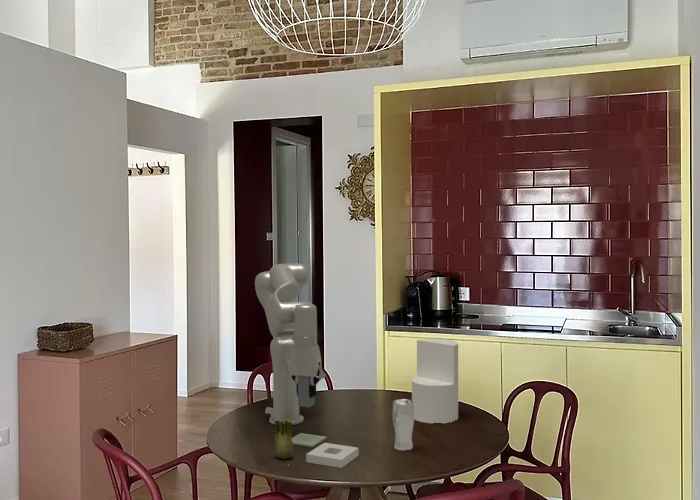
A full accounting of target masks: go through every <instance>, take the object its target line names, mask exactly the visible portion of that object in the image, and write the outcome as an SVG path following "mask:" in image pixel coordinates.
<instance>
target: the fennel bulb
mask: <svg viewBox="0 0 700 500" xmlns="http://www.w3.org/2000/svg"><path fill="white" fill-rule="evenodd" d="M292 426H293V425H292V422H291V421H288V420H287V419H285V422H284V420H279V419H276V420H275V424H274V428H275V430H274V447H275V452H276V456H277V457H278V458H279V460H288V459H291V458H292V457H293V455H294V444H293V441H292V438H293V437H292Z"/></svg>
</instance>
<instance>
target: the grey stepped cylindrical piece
mask: <svg viewBox="0 0 700 500" xmlns="http://www.w3.org/2000/svg"><path fill="white" fill-rule="evenodd" d="M411 400H412V401H413V403H414V421H418V422H420V423H425V424H433V423H442V424H450V423H453V421H454V422H456V421H457V420H458V419H459V342H458V341H455V340H452V339H451V340H450V339H445V338H444V339H442V338H425V339H423V338H422V339H416V377H415V376H414V377H413V378H412V379H411ZM455 420H456V421H455ZM449 422H450V423H449Z"/></svg>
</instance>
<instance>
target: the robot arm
mask: <svg viewBox="0 0 700 500" xmlns="http://www.w3.org/2000/svg"><path fill="white" fill-rule="evenodd" d="M308 271H309V270H308V269H307V267H306V266H305V265H304V264H303V263H300V262H298V263H297V262H296V263H278V264H277V263H276V264H275V265H273V266H272V267H271V268H270V270H268V271H267V270H266V271H263V272H259V273H258V274H257V275H256V276H255V280H254V287H255V292H256V296H257V298H258V300H259V302H260V304H261V306H262V308H263V309H264V312H265V317H266V321H267V324H268V329H269V332H270V334H271V336H272V337H274V338H273V339H272V340H271V342H270V345H269V346H270V347H269V349H270V355H271V361H272V384H273V385H272V386H273V389H272V393H273V394H272V395H273V397H272V399H273V400H272V401H273V407H270V406H267V407H266V408H265V411H264V413H265V414H266V415H267V414H268V415H270V416H269V423H270V424H272V425H275V420H276V419H279V420H284V422H285V419H287V420H288V421H291V422H292V426H294V425H299V424H301V423H303V422H304V416H303V415H302V414H300V406H298V376H304V377H310V383H311V385H310V386H309V397H310V398H312V397H316V394H317V385H318V383H319V382H320V381H321V380H323V379H324V378H326V373H324V371H323V369H322V355H321V351H320V346H319V345H318V318H317V317H318V313H317V311H318V310H317V306H316V305H315V304H313V303H312V302H311V301H307V300H306V301H305V300H304V301H293V300H295V299H296V298H297V297H298V295H299V294H300V292H301V289H302V288H303V287H305V286H306V284H307V283H308V281H309V272H308Z"/></svg>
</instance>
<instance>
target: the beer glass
mask: <svg viewBox="0 0 700 500" xmlns="http://www.w3.org/2000/svg"><path fill="white" fill-rule="evenodd" d="M414 422H415V419H414V403H413V401H412V399H407V398H400V399H395V400H393V403H392V425H393V427H394V434H395V436H394V437H395V440H394V446H393V448H394V449H395V450H397V451H404V452H405V451H406V450H407V451H411V450H413V448H414V445H413V429H414ZM407 451H406V452H407Z"/></svg>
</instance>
